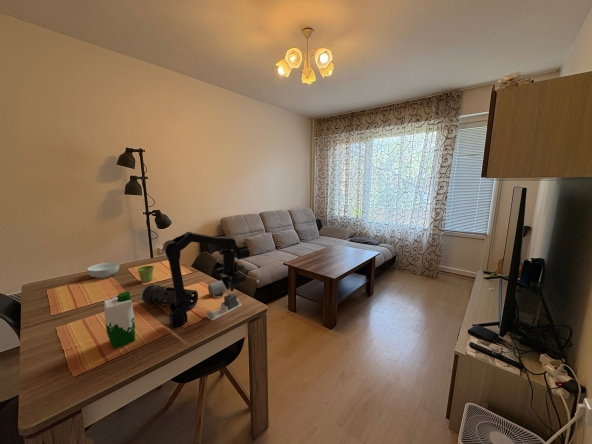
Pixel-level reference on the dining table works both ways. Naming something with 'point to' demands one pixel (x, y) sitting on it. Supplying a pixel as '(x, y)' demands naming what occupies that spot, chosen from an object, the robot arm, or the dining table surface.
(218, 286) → the ceramic mug
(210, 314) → the white ridged plate
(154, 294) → the muzzle brake
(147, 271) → the plant pot
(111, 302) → the milk carton
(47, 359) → the dining table surface
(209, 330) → the dining table surface
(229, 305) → the dark grey knobbed block
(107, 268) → the cereal bowl
